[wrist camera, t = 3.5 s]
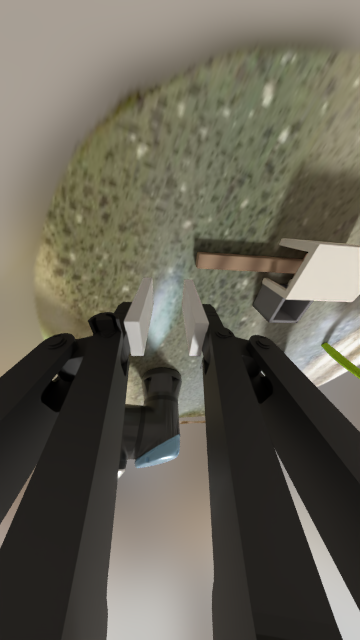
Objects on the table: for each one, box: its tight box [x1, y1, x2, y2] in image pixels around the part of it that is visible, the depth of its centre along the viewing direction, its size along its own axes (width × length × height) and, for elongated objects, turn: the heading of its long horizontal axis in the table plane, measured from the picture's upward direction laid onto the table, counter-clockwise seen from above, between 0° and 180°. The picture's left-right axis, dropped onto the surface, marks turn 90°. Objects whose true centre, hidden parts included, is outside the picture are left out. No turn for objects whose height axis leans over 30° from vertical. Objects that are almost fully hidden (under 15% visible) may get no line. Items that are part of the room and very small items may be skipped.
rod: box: [196, 252, 304, 274], centre depth 27 cm, size 22×2×2 cm, turn 86°
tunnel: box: [253, 238, 360, 323], centre depth 27 cm, size 14×15×8 cm
